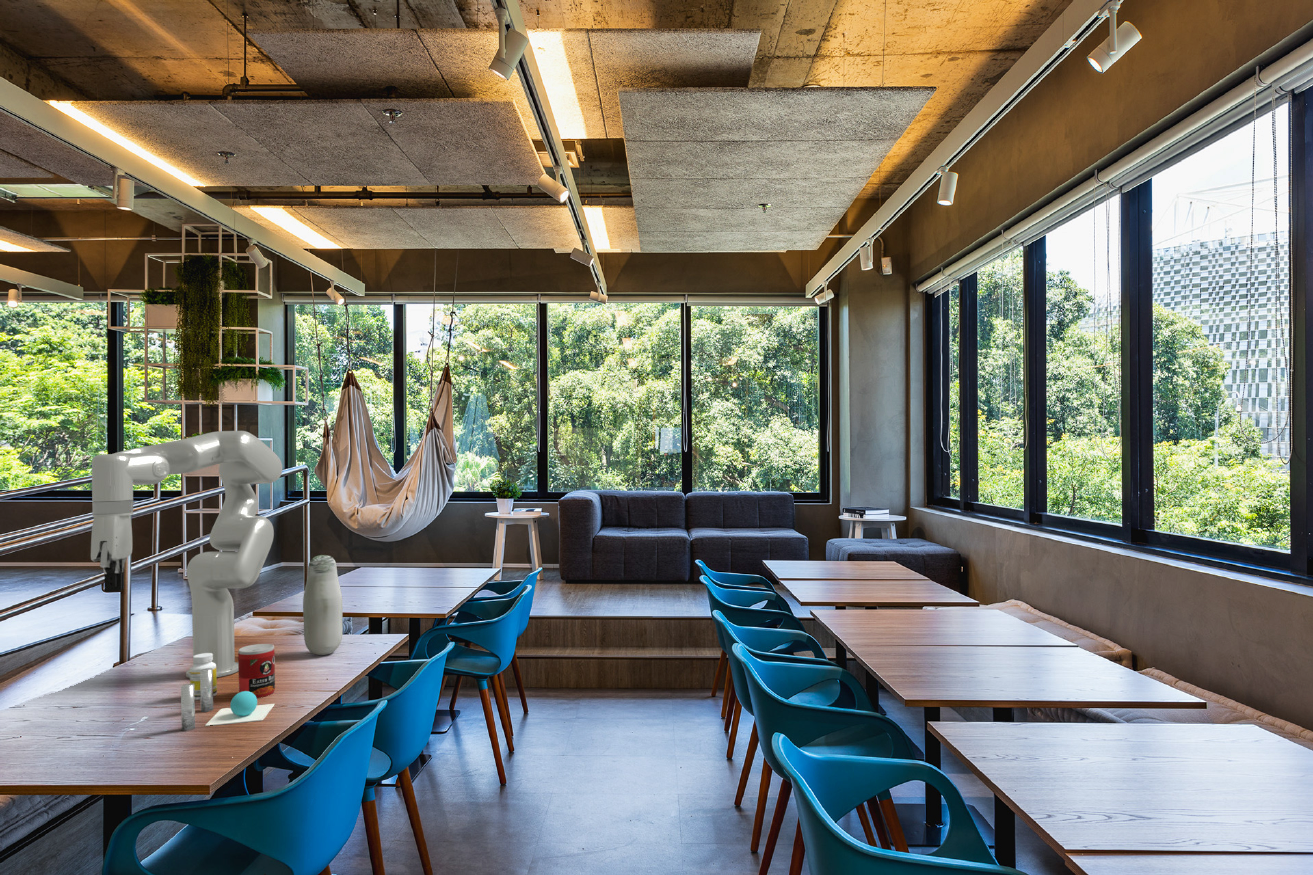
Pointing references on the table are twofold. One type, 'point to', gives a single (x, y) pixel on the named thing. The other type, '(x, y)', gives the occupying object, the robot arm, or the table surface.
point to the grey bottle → (322, 606)
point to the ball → (243, 703)
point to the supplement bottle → (199, 663)
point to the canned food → (257, 669)
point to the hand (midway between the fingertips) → (114, 590)
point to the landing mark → (229, 717)
